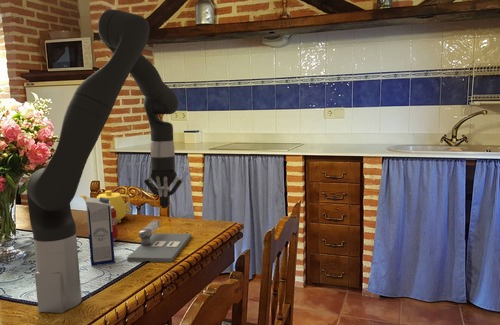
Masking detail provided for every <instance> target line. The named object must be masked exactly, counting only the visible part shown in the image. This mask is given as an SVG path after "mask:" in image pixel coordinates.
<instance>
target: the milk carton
mask: <svg viewBox="0 0 500 325" xmlns="http://www.w3.org/2000/svg"><path fill="white" fill-rule="evenodd" d="M85 206H86V216H87V227H88V228H87V230H88V239H89V241H88V242H89V256H90V266H91V267H93V266H94V267H95V266H101V265H109V264H115V261H116V260H115V248H114V241H113V231H112V217H111V204H110V201H109V199H108V198H105V197H100V199H98V198H97V197H88V196H87V197H86V202H85Z"/></svg>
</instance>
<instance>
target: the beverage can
mask: <svg viewBox="0 0 500 325" xmlns="http://www.w3.org/2000/svg"><path fill="white" fill-rule="evenodd" d="M111 217H112V231H113V242H114V241H116V240H117V239H118V236H119V233H118V232H119V231H118V223H117V217H116V210H115V209H114V207H113V206H111Z"/></svg>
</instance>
